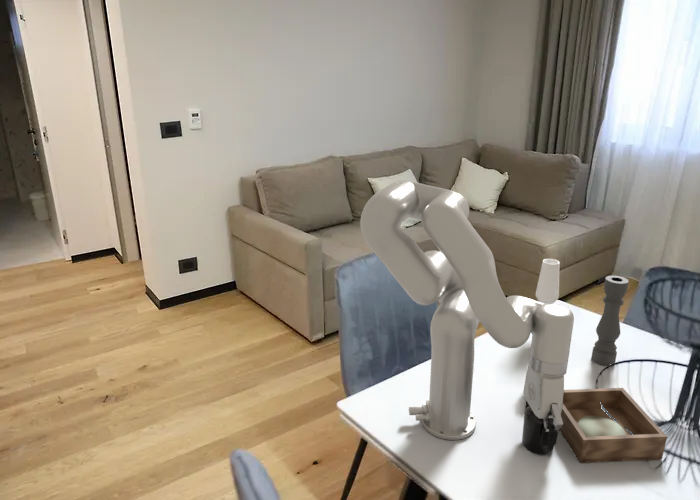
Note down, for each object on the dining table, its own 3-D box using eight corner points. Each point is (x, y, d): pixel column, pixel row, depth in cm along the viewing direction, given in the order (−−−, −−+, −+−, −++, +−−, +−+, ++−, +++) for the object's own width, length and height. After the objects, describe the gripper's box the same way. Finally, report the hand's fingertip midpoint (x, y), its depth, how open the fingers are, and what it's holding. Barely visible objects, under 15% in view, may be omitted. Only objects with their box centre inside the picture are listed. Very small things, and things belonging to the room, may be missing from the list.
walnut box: (580, 463, 117) (583, 440, 115) (547, 411, 134) (549, 390, 132) (661, 459, 118) (667, 436, 116) (618, 408, 135) (622, 387, 132)
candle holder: (618, 366, 153) (634, 284, 144) (596, 366, 153) (610, 284, 144) (609, 355, 158) (623, 275, 150) (587, 354, 159) (600, 275, 150)
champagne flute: (538, 326, 175) (547, 255, 167) (557, 333, 171) (567, 261, 162) (526, 332, 171) (534, 261, 163) (545, 340, 167) (555, 267, 158)
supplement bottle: (549, 436, 125) (555, 391, 121) (557, 457, 119) (563, 410, 115) (518, 434, 126) (523, 390, 122) (524, 455, 119) (530, 408, 115)
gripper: (516, 342, 123) (509, 406, 129) (546, 386, 107) (537, 457, 112) (549, 341, 123) (541, 405, 129) (584, 384, 107) (573, 456, 113)
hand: (539, 429), depth 121 cm, fingers open, 9 cm apart
